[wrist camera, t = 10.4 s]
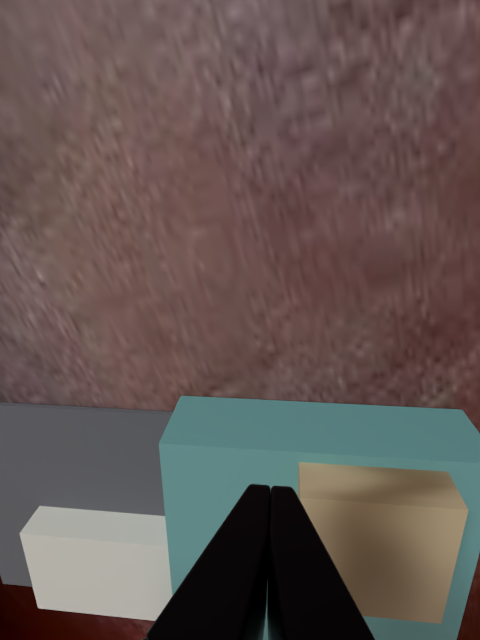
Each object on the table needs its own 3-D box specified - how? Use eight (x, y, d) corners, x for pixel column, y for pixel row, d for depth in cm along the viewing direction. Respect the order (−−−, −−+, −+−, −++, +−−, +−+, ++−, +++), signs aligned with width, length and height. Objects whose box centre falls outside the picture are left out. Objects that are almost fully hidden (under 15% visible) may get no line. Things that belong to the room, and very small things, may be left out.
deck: (462, 409, 20) (502, 464, 16) (415, 631, 25) (437, 710, 22) (181, 395, 21) (158, 443, 18) (194, 608, 27) (179, 679, 23)
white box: (185, 517, 24) (177, 547, 22) (190, 590, 26) (183, 623, 24) (39, 505, 25) (19, 533, 23) (55, 577, 27) (37, 608, 25)
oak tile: (447, 471, 17) (468, 509, 15) (425, 578, 19) (441, 623, 17) (298, 462, 17) (300, 497, 15) (293, 566, 19) (293, 609, 17)
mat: (181, 412, 22) (180, 415, 21) (193, 598, 26) (192, 602, 26) (-45, 400, 23) (-49, 402, 23) (5, 579, 28) (3, 583, 27)
